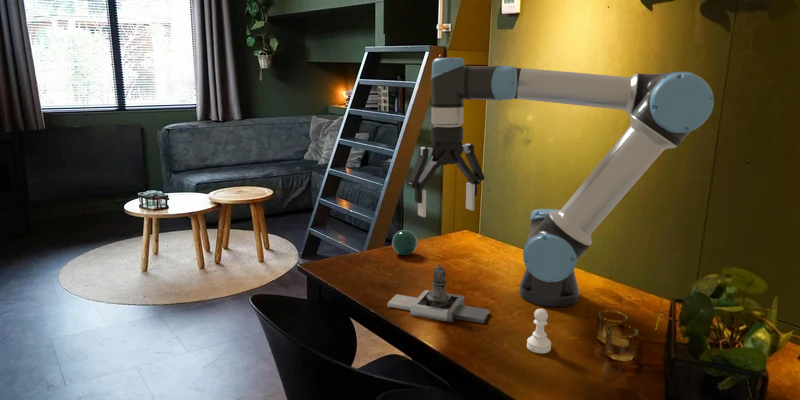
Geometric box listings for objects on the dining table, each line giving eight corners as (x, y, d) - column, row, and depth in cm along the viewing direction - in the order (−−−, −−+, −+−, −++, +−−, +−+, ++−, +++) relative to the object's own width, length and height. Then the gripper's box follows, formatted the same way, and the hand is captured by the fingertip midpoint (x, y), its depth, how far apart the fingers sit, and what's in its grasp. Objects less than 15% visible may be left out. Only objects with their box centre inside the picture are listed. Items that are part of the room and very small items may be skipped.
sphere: (414, 259, 176) (414, 235, 174) (389, 257, 178) (389, 233, 176) (419, 251, 184) (419, 227, 182) (395, 249, 186) (395, 226, 184)
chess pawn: (522, 343, 123) (525, 305, 121) (543, 341, 125) (546, 303, 123) (533, 355, 119) (535, 315, 117) (555, 352, 120) (558, 313, 118)
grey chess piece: (449, 316, 137) (450, 269, 134) (424, 314, 138) (425, 267, 135) (451, 306, 143) (452, 260, 140) (427, 304, 143) (429, 259, 141)
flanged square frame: (491, 309, 140) (491, 300, 140) (481, 327, 131) (481, 317, 130) (399, 294, 149) (399, 285, 149) (383, 310, 140) (383, 300, 139)
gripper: (482, 121, 143) (480, 203, 147) (392, 126, 132) (393, 215, 137) (500, 123, 136) (497, 209, 141) (407, 129, 125) (407, 222, 130)
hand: (446, 212), depth 139 cm, fingers open, 13 cm apart
